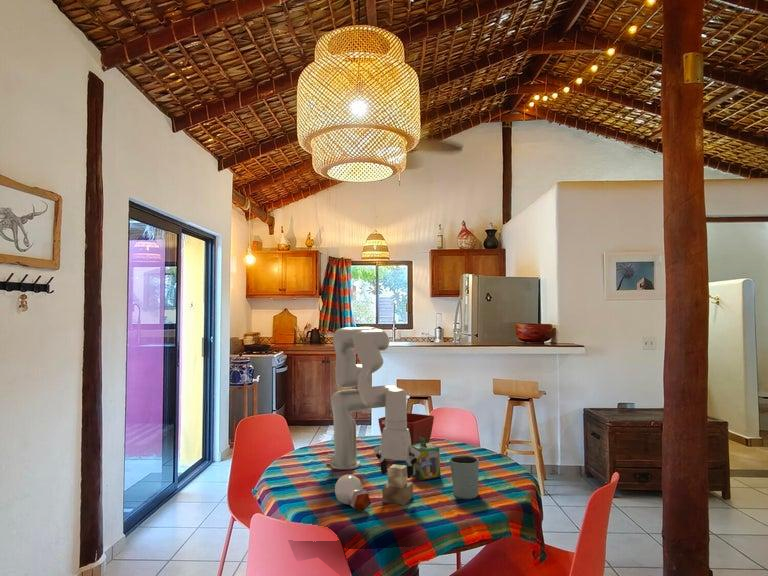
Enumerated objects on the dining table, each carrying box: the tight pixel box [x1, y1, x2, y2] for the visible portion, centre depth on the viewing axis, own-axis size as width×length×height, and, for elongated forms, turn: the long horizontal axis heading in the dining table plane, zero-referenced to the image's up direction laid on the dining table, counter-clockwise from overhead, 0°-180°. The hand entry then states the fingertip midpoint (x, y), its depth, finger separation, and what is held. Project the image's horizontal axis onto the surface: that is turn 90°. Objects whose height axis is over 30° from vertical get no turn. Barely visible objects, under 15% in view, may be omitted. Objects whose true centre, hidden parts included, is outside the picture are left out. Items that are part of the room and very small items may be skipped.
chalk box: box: [411, 437, 442, 481], centre depth 192 cm, size 9×9×15 cm
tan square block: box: [381, 481, 414, 506], centre depth 167 cm, size 8×8×5 cm
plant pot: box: [378, 412, 435, 445], centre depth 222 cm, size 19×19×17 cm
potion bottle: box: [334, 474, 372, 513], centre depth 162 cm, size 9×10×15 cm
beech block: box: [387, 464, 408, 488], centre depth 167 cm, size 5×5×6 cm
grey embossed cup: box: [449, 455, 480, 500], centre depth 170 cm, size 10×10×12 cm
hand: (397, 475), depth 168 cm, fingers open, 9 cm apart
